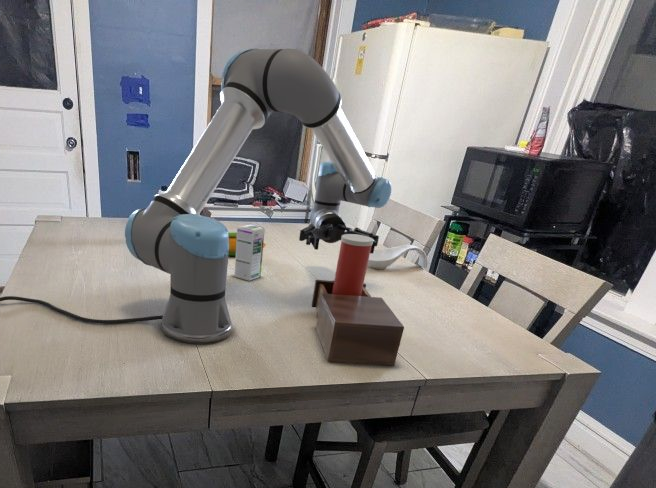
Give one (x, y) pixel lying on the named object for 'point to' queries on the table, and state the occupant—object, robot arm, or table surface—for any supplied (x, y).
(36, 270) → the table surface
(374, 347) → the cabinet
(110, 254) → the table surface
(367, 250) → the crisps tube
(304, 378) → the table surface
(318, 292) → the drawer
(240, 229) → the syrup box
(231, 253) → the corn
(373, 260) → the spoon rest
